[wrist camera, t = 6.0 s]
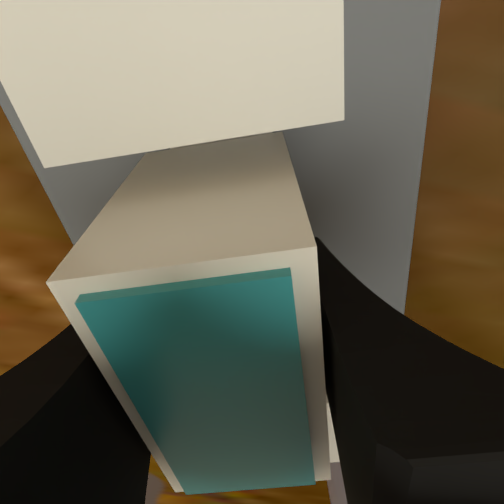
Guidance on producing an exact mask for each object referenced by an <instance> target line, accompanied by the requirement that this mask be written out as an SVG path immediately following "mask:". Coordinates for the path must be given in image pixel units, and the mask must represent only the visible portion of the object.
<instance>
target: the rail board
mask: <svg viewBox="0 0 504 504" xmlns="http://www.w3.org/2000/svg"><path fill="white" fill-rule="evenodd" d="M440 4H441V0H0V105H1V107H2V109H3V111H4V113H5V115H6V116H7V118H8V120H9V122H10V124H11V126H12V128H13V130H14V132H15V134H16V136H17V138H18V139H19V141H20V143H21V145H22V147H23V149H24V151H25V153H26V155H27V157H28V159H29V161H30V162H31V164H32V166H33V168H34V170H35V172H36V174H37V176H38V178H39V180H40V182H41V184H42V186H43V187H44V189H45V191H46V193H47V195H48V197H49V199H50V201H51V203H52V205H53V207H54V209H55V210H56V212H57V214H58V216H59V218H60V220H61V222H62V224H63V226H64V228H65V230H66V232H67V233H68V235H69V237H70V239H71V241H72V243H73V245H75V244H76V242H77V241H78V240H79V239H80V237H81V236H82V235H83V233H84V232H85V231H86V230H87V228H88V227H89V226H90V224H91V223H92V222H93V221H94V219H95V218H96V217H97V215H98V214H99V213H100V212H101V210H102V209H103V208H104V206H105V205H106V204H107V202H108V201H109V200H110V199H111V197H112V196H113V195H114V193H115V192H116V191H117V190H118V188H119V187H120V186H121V184H122V183H123V182H124V181H125V179H126V178H127V177H128V175H129V174H130V173H131V171H132V170H133V169H134V168H135V166H136V165H137V164H138V162H139V161H140V160H141V159H142V157H143V156H144V155H145V153H150V152H157V151H163V150H169V149H175V148H182V147H188V146H194V145H200V144H207V143H213V142H219V141H226V140H232V139H238V138H244V137H251V136H257V135H263V134H269V133H276V132H283V136H284V139H285V142H286V146H287V149H288V152H289V156H290V159H291V162H292V166H293V169H294V172H295V176H296V179H297V182H298V186H299V189H300V192H301V195H302V199H303V202H304V205H305V209H306V212H307V215H308V219H309V222H310V225H311V229H312V232H313V235H314V237H318V238H319V239H320V240H321V241H322V242H323V243H324V245H325V246H326V247H327V248H328V249H329V250H330V252H331V253H332V254H333V255H334V256H335V257H336V258H337V259H338V260H339V261H340V262H341V263H342V264H343V265H344V266H345V267H346V268H347V269H348V270H349V271H350V272H351V273H352V274H353V275H354V276H355V277H356V278H357V279H358V280H360V281H361V282H362V283H363V284H364V285H365V286H366V287H368V288H369V289H370V290H371V291H372V292H374V293H375V294H376V295H377V296H379V297H380V298H381V299H382V300H384V301H385V302H386V303H388V304H389V305H390V306H392V307H393V308H395V309H396V310H397V311H399V312H400V313H402V314H403V315H404V310H405V301H406V293H407V284H408V276H409V267H410V259H411V250H412V242H413V233H414V225H415V216H416V208H417V199H418V191H419V182H420V174H421V165H422V157H423V148H424V140H425V131H426V123H427V114H428V106H429V97H430V89H431V80H432V72H433V63H434V55H435V46H436V38H437V29H438V21H439V12H440ZM326 404H327V421H328V437H329V453H330V463H332V462H340V460H339V455H338V449H337V444H336V439H335V433H334V428H333V423H332V418H331V412H330V407H329V403H328V398H327V394H326Z"/></svg>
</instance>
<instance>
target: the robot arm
mask: <svg viewBox="0 0 504 504" xmlns="http://www.w3.org/2000/svg"><path fill="white" fill-rule="evenodd" d="M314 239H315V242H316V245H317V258H318V274H319V290H320V306H321V323H322V339H323V355H324V372H325V388H326V394H327V398H328V403H329V407H330V412H331V418H332V423H333V428H334V433H335V439H336V444H337V449H338V455H339V460H340V462H332V463H330V470H331V480H327V484H328V490H329V496H330V502H331V504H504V369H502V368H500V367H498V366H496V365H494V364H492V363H490V362H488V361H486V360H484V359H482V358H480V357H477V356H475V355H473V354H471V353H469V352H467V351H465V350H463V349H461V348H459V347H458V346H456V345H454V344H452V343H450V342H448V341H446V340H445V339H443V338H441V337H439V336H438V335H436V334H434V333H432V332H431V331H429V330H427V329H425V328H424V327H422V326H420V325H419V324H417V323H415V322H414V321H412V320H411V319H409V318H408V317H406V316H405V315H403V314H402V313H400V312H399V311H397V310H396V309H395V308H393V307H392V306H390V305H389V304H388V303H386V302H385V301H384V300H382V299H381V298H380V297H379V296H377V295H376V294H375V293H374V292H372V291H371V290H370V289H369V288H368V287H366V286H365V285H364V284H363V283H362V282H361V281H360V280H358V279H357V278H356V277H355V276H354V275H353V274H352V273H351V272H350V271H349V270H348V269H347V268H346V267H345V266H344V265H343V264H342V263H341V262H340V261H339V260H338V259H337V258H336V257H335V256H334V255H333V254H332V253H331V252H330V250H329V249H328V248H327V247H326V246H325V245H324V243H323V242H322V241H321V240H320V239H319V238H318V237H314ZM150 456H151V452H150V451H149V449H148V447H147V446H146V444H145V442H144V441H143V439H142V438H141V436H140V434H139V433H138V431H137V429H136V428H135V426H134V425H133V423H132V421H131V420H130V418H129V417H128V415H127V413H126V412H125V410H124V408H123V407H122V405H121V404H120V402H119V400H118V399H117V397H116V395H115V394H114V392H113V391H112V389H111V387H110V386H109V384H108V383H107V381H106V379H105V378H104V376H103V374H102V373H101V371H100V370H99V368H98V366H97V365H96V363H95V361H94V360H93V358H92V357H91V355H90V353H89V352H88V350H87V349H86V347H85V345H84V344H83V342H82V340H81V339H80V337H79V336H78V334H77V332H76V331H75V329H74V327H73V326H72V324H70V325H69V326H68V327H67V328H66V329H65V330H63V331H62V332H61V333H60V334H58V335H57V336H56V337H55V338H53V339H52V340H51V341H49V342H48V343H47V344H46V345H44V346H43V347H41V348H40V349H39V350H37V351H36V352H35V353H33V354H32V355H31V356H29V357H28V358H27V359H25V360H24V361H22V362H21V363H19V364H18V365H16V366H15V367H13V368H12V369H10V370H9V371H7V372H6V373H4V374H3V375H1V376H0V504H145V495H146V487H147V480H148V472H149V464H150Z"/></svg>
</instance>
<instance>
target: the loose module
mask: <svg viewBox="0 0 504 504" xmlns="http://www.w3.org/2000/svg"><path fill="white" fill-rule="evenodd" d="M46 284H47V285H48V287H49V289H50V290H51V292H52V293H53V295H54V297H55V298H56V300H57V302H58V303H59V305H60V306H61V308H62V310H63V311H64V313H65V315H66V316H67V318H68V319H69V321H70V323H71V324H72V326H73V327H74V329H75V331H76V332H77V334H78V336H79V337H80V339H81V340H82V342H83V344H84V345H85V347H86V349H87V350H88V352H89V353H90V355H91V357H92V358H93V360H94V361H95V363H96V365H97V366H98V368H99V370H100V371H101V373H102V374H103V376H104V378H105V379H106V381H107V383H108V384H109V386H110V387H111V389H112V391H113V392H114V394H115V395H116V397H117V399H118V400H119V402H120V404H121V405H122V407H123V408H124V410H125V412H126V413H127V415H128V417H129V418H130V420H131V421H132V423H133V425H134V426H135V428H136V429H137V431H138V433H139V434H140V436H141V438H142V439H143V441H144V442H145V444H146V446H147V447H148V449H149V451H150V452H151V454H152V455H153V457H154V459H155V460H156V462H157V463H158V465H159V467H160V468H161V470H162V472H163V473H164V475H165V476H166V478H167V480H168V481H169V483H170V485H171V486H172V488H173V489H174V491H175V492H185V493H186V495H189V494H201V493H214V492H227V491H239V490H252V489H265V488H277V487H290V486H302V485H315V484H316V483H315V481H322V480H331V470H330V453H329V437H328V421H327V404H326V388H325V372H324V355H323V339H322V323H321V306H320V290H319V274H318V258H317V245H316V242H315V239H314V235H313V232H312V229H311V225H310V222H309V219H308V215H307V212H306V209H305V205H304V202H303V199H302V195H301V192H300V189H299V186H298V182H297V179H296V176H295V172H294V169H293V166H292V162H291V159H290V156H289V152H288V149H287V146H286V142H285V139H284V136H283V132H276V133H269V134H263V135H257V136H251V137H244V138H238V139H232V140H226V141H219V142H213V143H207V144H200V145H194V146H188V147H182V148H175V149H169V150H163V151H157V152H150V153H145V155H144V156H143V157H142V159H141V160H140V161H139V162H138V164H137V165H136V166H135V168H134V169H133V170H132V171H131V173H130V174H129V175H128V177H127V178H126V179H125V181H124V182H123V183H122V184H121V186H120V187H119V188H118V190H117V191H116V192H115V193H114V195H113V196H112V197H111V199H110V200H109V201H108V202H107V204H106V205H105V206H104V208H103V209H102V210H101V212H100V213H99V214H98V215H97V217H96V218H95V219H94V221H93V222H92V223H91V224H90V226H89V227H88V228H87V230H86V231H85V232H84V233H83V235H82V236H81V237H80V239H79V240H78V241H77V242H76V244H75V245H74V246H73V248H72V249H71V250H70V252H69V253H68V254H67V255H66V257H65V258H64V259H63V261H62V262H61V263H60V264H59V266H58V267H57V268H56V270H55V271H54V272H53V273H52V275H51V276H50V277H49V279H48V280H47V281H46Z"/></svg>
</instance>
